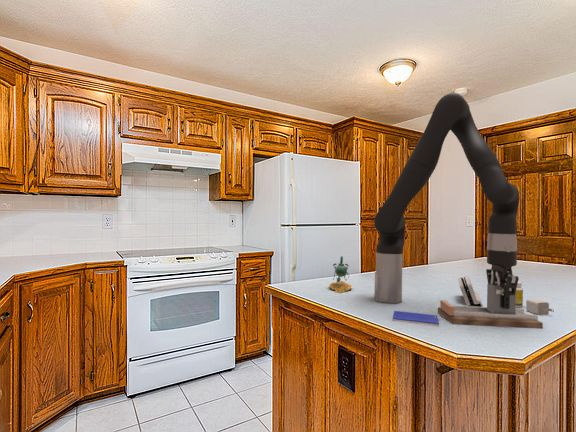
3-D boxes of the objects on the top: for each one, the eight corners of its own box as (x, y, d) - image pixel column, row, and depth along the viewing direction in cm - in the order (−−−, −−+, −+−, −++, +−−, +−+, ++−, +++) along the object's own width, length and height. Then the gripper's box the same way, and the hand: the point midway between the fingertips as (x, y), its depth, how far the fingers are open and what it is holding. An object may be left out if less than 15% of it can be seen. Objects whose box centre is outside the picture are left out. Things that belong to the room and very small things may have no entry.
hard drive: (437, 314, 101) (394, 310, 105) (439, 322, 93) (392, 317, 98) (437, 320, 101) (394, 315, 105) (439, 328, 93) (392, 322, 98)
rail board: (452, 323, 95) (452, 308, 95) (437, 312, 107) (438, 298, 107) (542, 328, 93) (542, 312, 93) (517, 315, 105) (517, 301, 105)
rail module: (493, 313, 98) (494, 283, 98) (486, 309, 102) (487, 280, 102) (515, 314, 97) (516, 284, 97) (507, 310, 102) (508, 281, 102)
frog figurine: (354, 285, 148) (355, 252, 146) (350, 299, 131) (351, 262, 129) (332, 283, 151) (333, 251, 149) (326, 297, 133) (326, 260, 132)
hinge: (483, 307, 114) (472, 278, 116) (468, 310, 116) (457, 282, 118) (479, 297, 129) (470, 272, 131) (466, 299, 131) (457, 275, 133)
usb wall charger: (536, 311, 111) (537, 299, 111) (556, 317, 104) (556, 304, 104) (526, 311, 111) (526, 299, 111) (545, 317, 104) (545, 304, 104)
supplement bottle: (525, 308, 114) (525, 283, 114) (509, 307, 115) (510, 282, 115) (518, 304, 119) (519, 280, 119) (503, 303, 120) (504, 280, 120)
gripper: (477, 246, 107) (476, 300, 107) (501, 250, 93) (499, 312, 93) (502, 247, 107) (501, 301, 106) (529, 251, 92) (528, 313, 92)
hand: (500, 306), depth 100 cm, fingers closed on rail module, 4 cm apart
